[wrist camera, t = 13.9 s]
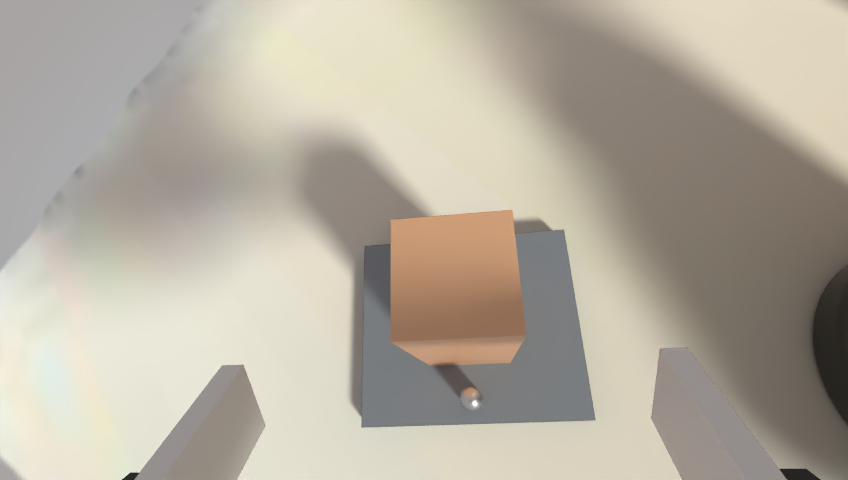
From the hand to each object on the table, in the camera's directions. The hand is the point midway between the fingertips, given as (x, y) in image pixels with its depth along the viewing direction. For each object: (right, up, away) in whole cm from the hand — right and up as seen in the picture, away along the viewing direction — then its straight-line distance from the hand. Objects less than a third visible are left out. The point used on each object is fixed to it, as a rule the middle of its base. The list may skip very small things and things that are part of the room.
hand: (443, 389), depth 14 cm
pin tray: (+2, -1, +15) cm, 16 cm away
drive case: (+2, -1, +14) cm, 14 cm away
